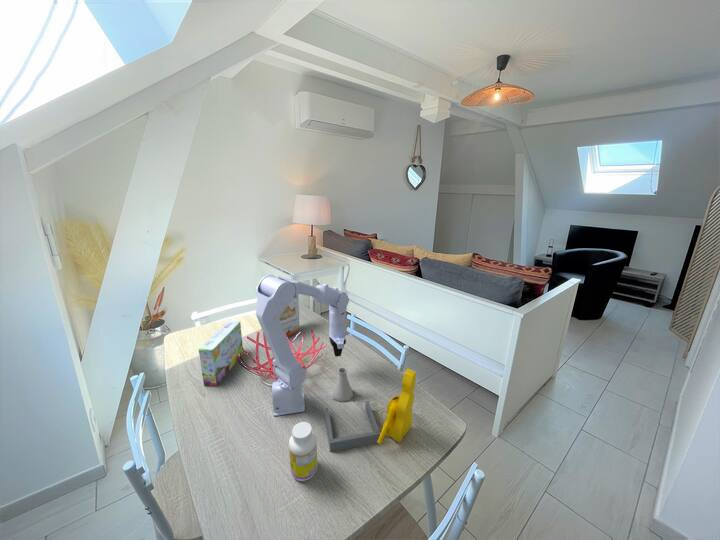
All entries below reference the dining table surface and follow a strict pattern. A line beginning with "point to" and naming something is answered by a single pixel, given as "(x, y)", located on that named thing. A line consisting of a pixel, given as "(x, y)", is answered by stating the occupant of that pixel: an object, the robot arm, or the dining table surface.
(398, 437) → the figure statuette
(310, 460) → the supplement bottle
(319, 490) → the dining table surface
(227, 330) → the snack box
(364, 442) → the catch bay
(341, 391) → the flask
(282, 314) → the cracker box
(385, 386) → the dining table surface
